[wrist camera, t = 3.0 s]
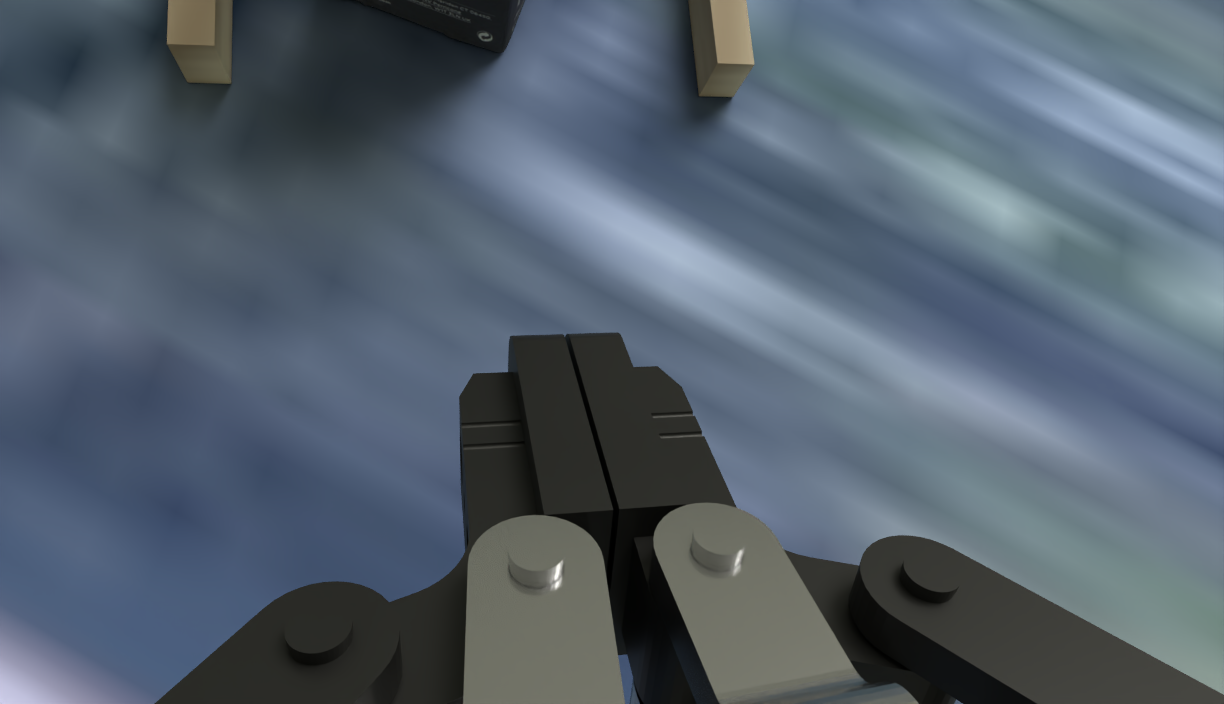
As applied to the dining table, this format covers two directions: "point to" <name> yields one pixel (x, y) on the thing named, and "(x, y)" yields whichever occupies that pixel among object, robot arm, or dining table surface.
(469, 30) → the small box
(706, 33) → the trap course
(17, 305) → the dining table surface
